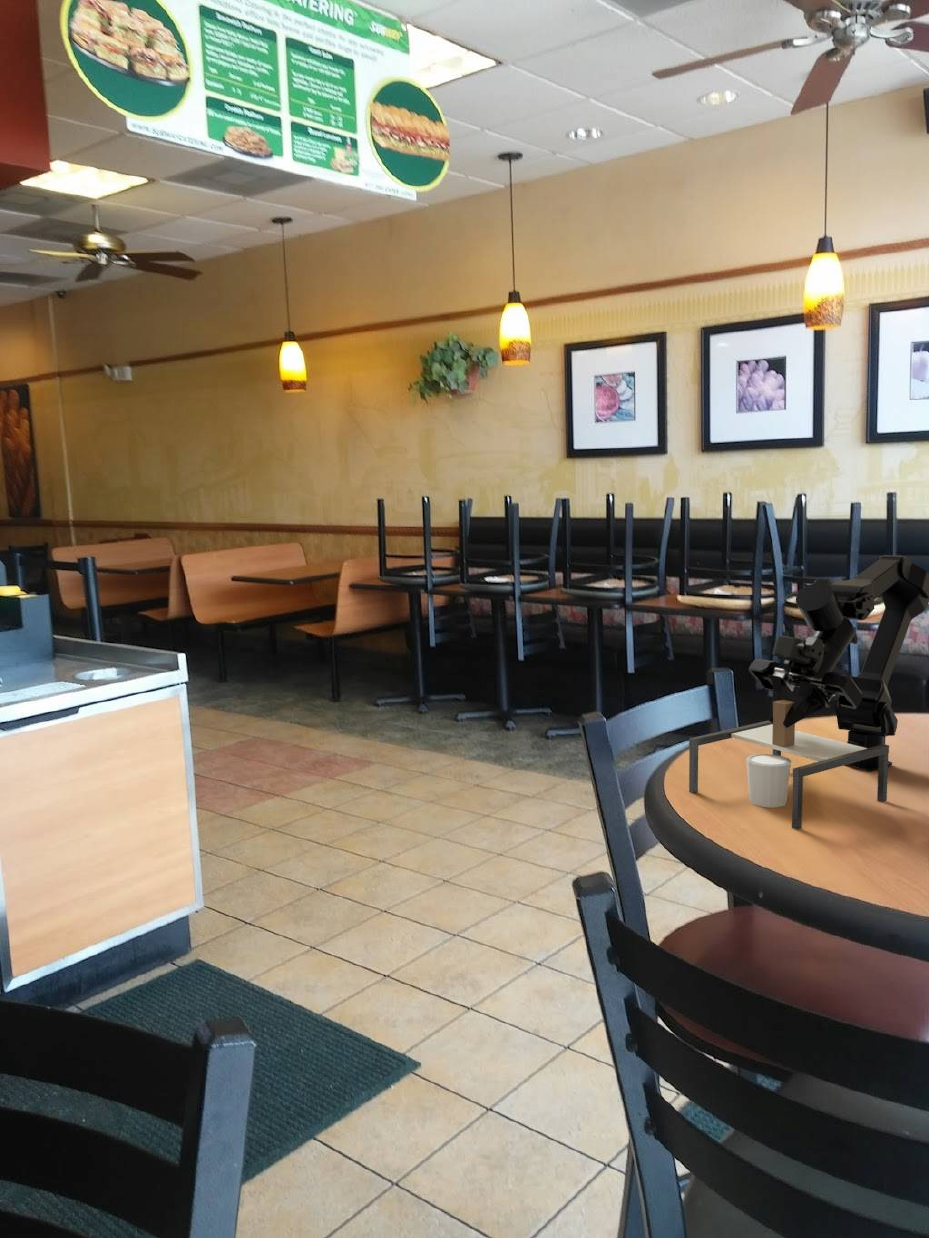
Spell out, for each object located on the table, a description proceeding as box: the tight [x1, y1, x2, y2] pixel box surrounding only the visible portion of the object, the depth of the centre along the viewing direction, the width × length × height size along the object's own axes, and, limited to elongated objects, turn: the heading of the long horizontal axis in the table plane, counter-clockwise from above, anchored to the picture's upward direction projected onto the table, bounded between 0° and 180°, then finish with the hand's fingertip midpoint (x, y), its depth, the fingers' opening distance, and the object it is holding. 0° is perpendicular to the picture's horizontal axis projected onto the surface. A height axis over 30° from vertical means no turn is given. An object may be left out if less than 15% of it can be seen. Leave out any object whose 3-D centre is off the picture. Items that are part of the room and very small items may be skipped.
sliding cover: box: [731, 700, 867, 762], centre depth 163 cm, size 10×19×8 cm, turn 33°
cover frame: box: [688, 719, 890, 830], centre depth 162 cm, size 22×22×9 cm
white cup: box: [745, 753, 792, 809], centre depth 160 cm, size 7×7×7 cm
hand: (777, 724), depth 160 cm, fingers closed on sliding cover, 2 cm apart
